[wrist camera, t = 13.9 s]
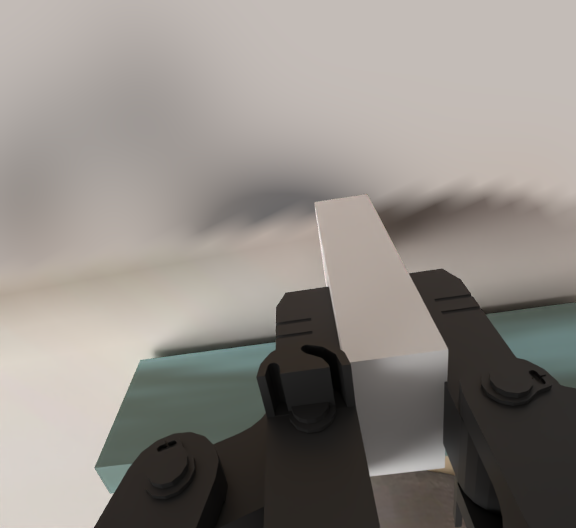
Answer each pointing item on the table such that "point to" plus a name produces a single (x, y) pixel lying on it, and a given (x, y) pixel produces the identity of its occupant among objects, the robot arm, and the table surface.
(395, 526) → the pillar candle
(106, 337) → the table surface
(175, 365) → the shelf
